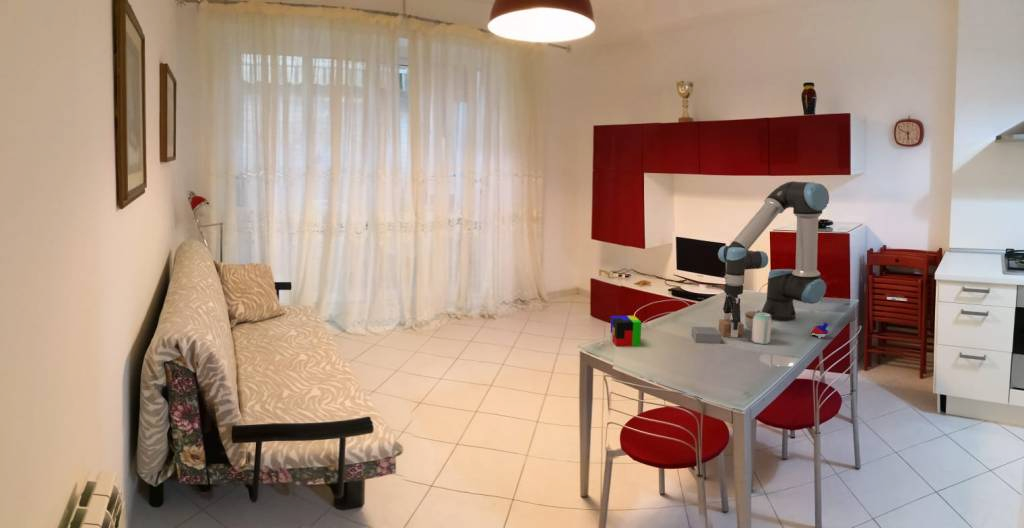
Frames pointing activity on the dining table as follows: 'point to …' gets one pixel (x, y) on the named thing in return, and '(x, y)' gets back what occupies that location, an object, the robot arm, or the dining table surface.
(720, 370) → the dining table surface
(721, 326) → the walnut brick
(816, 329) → the multicoloured piece
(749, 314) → the lidded jar
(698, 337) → the tower base
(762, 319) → the can
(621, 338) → the puzzle toy
